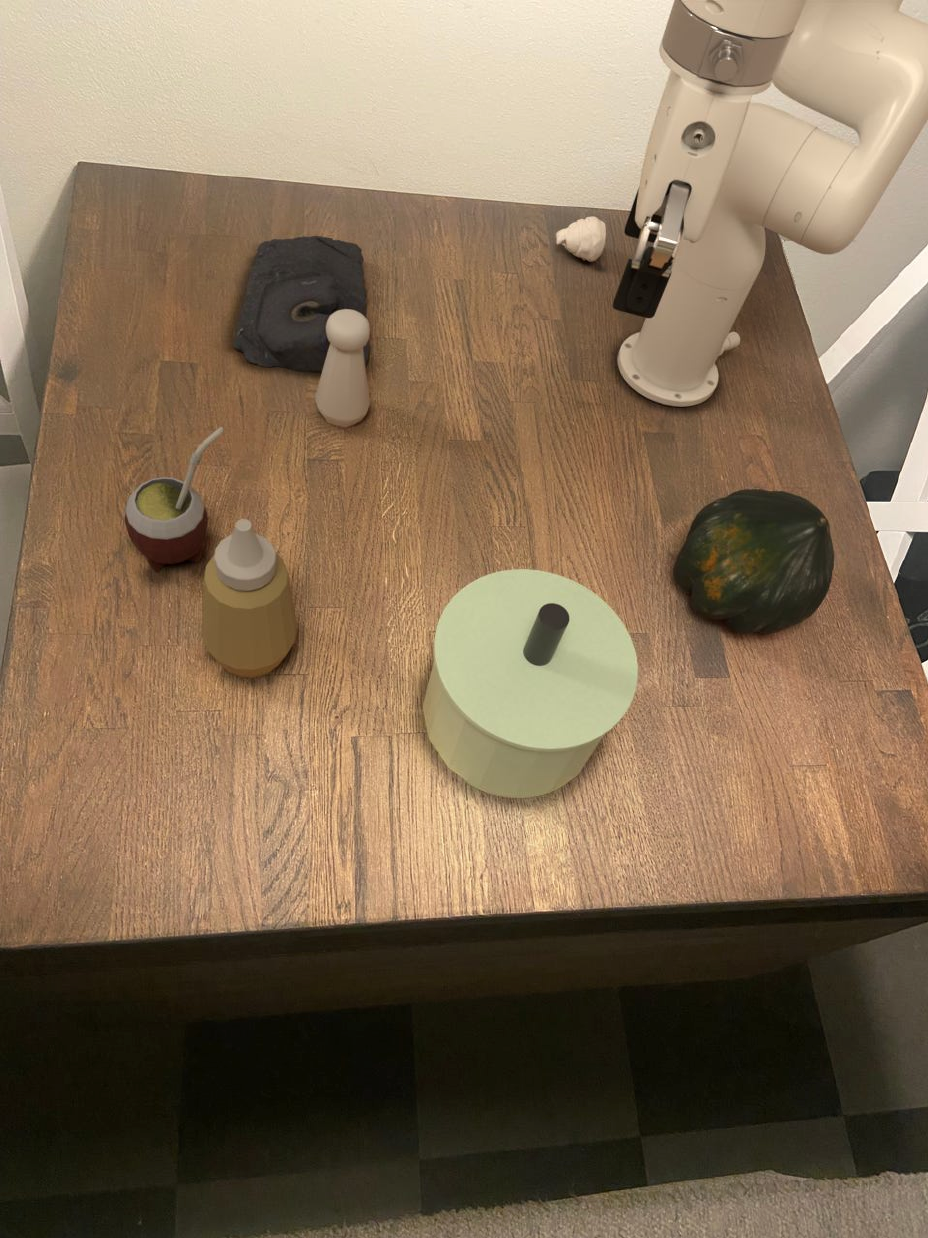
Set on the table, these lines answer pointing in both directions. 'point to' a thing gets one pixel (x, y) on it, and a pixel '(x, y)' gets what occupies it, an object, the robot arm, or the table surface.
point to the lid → (535, 660)
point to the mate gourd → (169, 517)
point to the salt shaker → (344, 370)
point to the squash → (757, 560)
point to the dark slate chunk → (298, 300)
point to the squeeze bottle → (247, 604)
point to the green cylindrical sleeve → (495, 753)
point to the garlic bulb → (584, 238)
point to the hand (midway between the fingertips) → (637, 273)
